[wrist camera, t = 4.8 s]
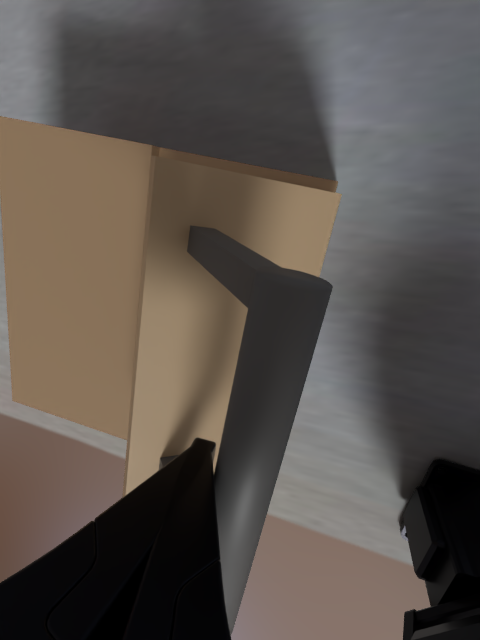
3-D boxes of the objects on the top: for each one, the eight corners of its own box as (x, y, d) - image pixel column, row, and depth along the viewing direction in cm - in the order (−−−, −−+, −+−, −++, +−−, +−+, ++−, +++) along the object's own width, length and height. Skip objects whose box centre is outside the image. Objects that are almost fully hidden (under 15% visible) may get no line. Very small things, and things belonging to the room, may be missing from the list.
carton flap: (331, 192, 13) (525, 227, 7) (257, 471, 18) (342, 619, 12) (151, 155, 10) (247, 168, 5) (122, 498, 15) (152, 705, 9)
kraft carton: (337, 185, 18) (337, 180, 12) (277, 410, 23) (257, 485, 17) (95, 139, 21) (-5, 115, 15) (88, 352, 26) (12, 400, 20)
